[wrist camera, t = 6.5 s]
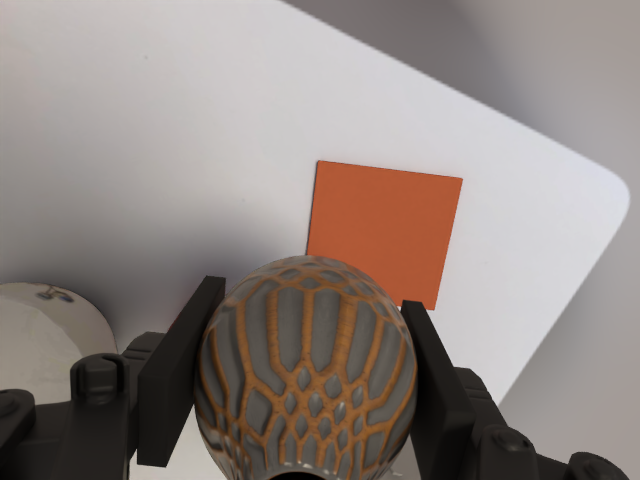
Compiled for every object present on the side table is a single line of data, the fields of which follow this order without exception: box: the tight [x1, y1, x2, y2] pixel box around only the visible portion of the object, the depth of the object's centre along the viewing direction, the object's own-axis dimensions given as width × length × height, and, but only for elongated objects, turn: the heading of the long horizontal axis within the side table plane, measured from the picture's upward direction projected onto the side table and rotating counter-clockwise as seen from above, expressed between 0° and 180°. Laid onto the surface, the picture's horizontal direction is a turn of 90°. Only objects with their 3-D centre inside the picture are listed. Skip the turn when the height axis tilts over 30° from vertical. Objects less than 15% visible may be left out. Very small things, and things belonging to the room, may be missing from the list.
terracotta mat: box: [307, 160, 463, 310], centre depth 32 cm, size 10×10×1 cm
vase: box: [193, 255, 418, 480], centre depth 13 cm, size 7×7×9 cm
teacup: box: [0, 282, 117, 405], centre depth 31 cm, size 15×12×8 cm
